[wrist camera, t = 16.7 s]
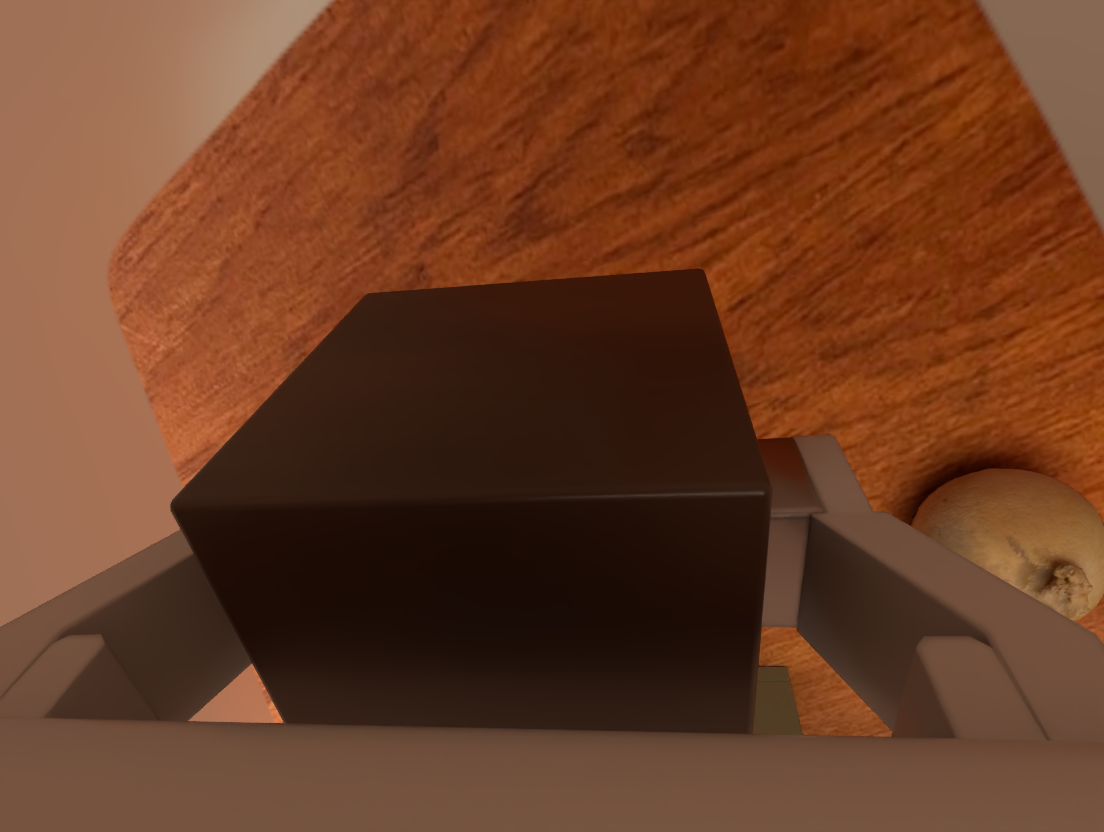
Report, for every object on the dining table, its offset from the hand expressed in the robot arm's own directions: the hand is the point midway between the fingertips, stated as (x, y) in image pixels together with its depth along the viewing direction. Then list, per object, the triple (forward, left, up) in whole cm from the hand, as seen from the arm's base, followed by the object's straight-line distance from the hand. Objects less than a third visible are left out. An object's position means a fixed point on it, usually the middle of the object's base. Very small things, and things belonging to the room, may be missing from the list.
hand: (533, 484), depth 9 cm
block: (0, 0, -2) cm, 2 cm away
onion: (+17, -17, -19) cm, 31 cm away
